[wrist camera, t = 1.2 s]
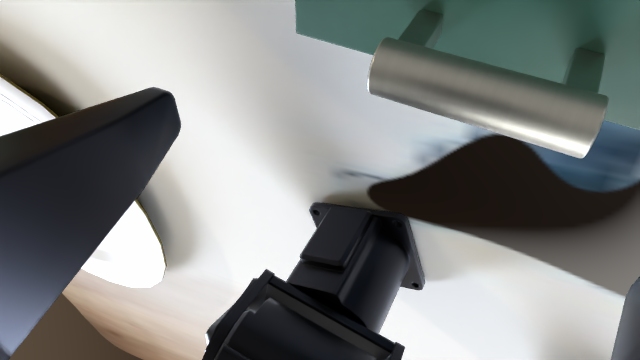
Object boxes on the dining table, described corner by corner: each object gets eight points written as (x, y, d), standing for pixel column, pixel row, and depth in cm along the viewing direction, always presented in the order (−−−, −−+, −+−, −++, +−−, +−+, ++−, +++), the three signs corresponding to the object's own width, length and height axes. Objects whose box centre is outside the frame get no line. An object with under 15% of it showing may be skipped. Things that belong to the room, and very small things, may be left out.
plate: (-134, -26, 39) (-159, -16, 38) (179, 159, 36) (162, 176, 35) (-22, 185, 62) (-35, 196, 61) (175, 309, 59) (165, 323, 58)
